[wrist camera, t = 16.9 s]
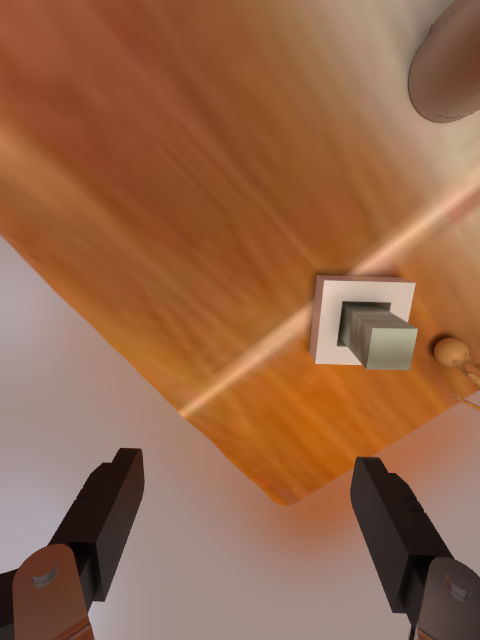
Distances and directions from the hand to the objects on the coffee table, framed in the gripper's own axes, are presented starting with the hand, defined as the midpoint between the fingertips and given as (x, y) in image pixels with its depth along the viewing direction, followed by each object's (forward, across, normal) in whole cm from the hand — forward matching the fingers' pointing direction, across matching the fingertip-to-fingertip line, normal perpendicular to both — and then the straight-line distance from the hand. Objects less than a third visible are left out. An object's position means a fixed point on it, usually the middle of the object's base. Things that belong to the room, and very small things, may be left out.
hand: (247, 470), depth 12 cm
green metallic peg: (+32, -15, +3) cm, 35 cm away
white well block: (+32, -15, +3) cm, 35 cm away
